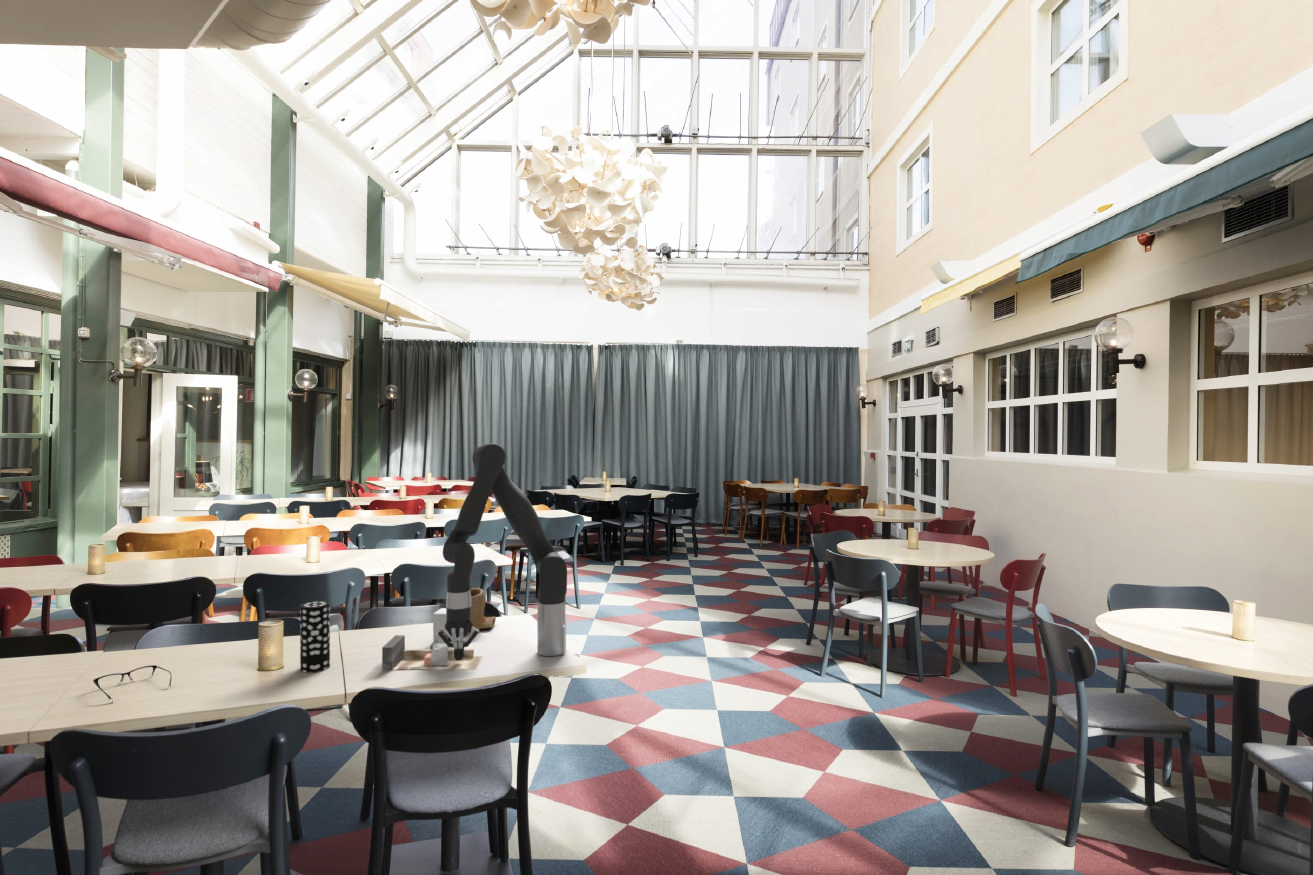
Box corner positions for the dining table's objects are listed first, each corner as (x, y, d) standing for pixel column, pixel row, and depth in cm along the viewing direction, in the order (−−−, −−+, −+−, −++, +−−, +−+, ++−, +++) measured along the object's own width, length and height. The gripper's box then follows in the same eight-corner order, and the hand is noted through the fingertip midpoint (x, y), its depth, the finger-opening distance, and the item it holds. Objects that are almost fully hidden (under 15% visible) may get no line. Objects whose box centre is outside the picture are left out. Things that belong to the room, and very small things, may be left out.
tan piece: (453, 635, 251) (453, 594, 251) (454, 625, 263) (454, 586, 262) (496, 632, 255) (497, 591, 255) (495, 623, 267) (495, 584, 266)
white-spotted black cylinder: (294, 670, 215) (293, 606, 214) (315, 661, 222) (315, 599, 222) (314, 674, 212) (314, 608, 211) (336, 665, 220) (335, 602, 219)
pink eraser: (435, 660, 220) (435, 653, 220) (432, 665, 216) (432, 657, 216) (427, 660, 220) (427, 653, 220) (424, 665, 216) (424, 657, 216)
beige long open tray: (483, 660, 224) (483, 634, 224) (475, 674, 212) (475, 646, 212) (395, 661, 223) (395, 635, 223) (382, 675, 211) (382, 647, 211)
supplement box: (461, 644, 241) (462, 608, 241) (453, 651, 234) (453, 613, 233) (441, 643, 242) (441, 607, 241) (432, 650, 234) (432, 613, 234)
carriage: (452, 658, 221) (452, 639, 221) (447, 665, 215) (447, 645, 215) (435, 658, 221) (435, 639, 221) (430, 665, 215) (430, 645, 215)
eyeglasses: (158, 675, 211) (158, 662, 210) (176, 688, 201) (176, 674, 201) (90, 692, 198) (90, 678, 198) (105, 706, 188) (105, 692, 188)
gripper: (482, 601, 222) (482, 655, 222) (440, 601, 221) (440, 656, 221) (477, 607, 214) (478, 663, 214) (434, 608, 213) (434, 664, 214)
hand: (459, 659), depth 218 cm, fingers closed
